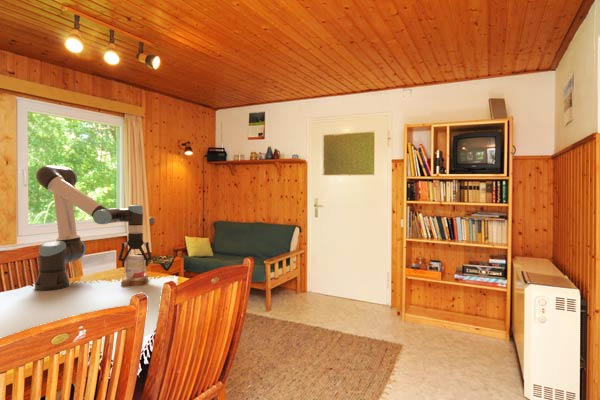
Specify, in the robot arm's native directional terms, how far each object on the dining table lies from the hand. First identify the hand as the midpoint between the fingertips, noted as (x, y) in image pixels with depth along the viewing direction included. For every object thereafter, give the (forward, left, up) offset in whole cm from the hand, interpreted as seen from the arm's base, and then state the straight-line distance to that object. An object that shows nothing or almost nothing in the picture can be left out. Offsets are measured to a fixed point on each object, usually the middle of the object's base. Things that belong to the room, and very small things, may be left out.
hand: (135, 272), depth 204 cm
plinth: (0, 0, -6) cm, 6 cm away
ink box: (0, 0, -2) cm, 2 cm away
